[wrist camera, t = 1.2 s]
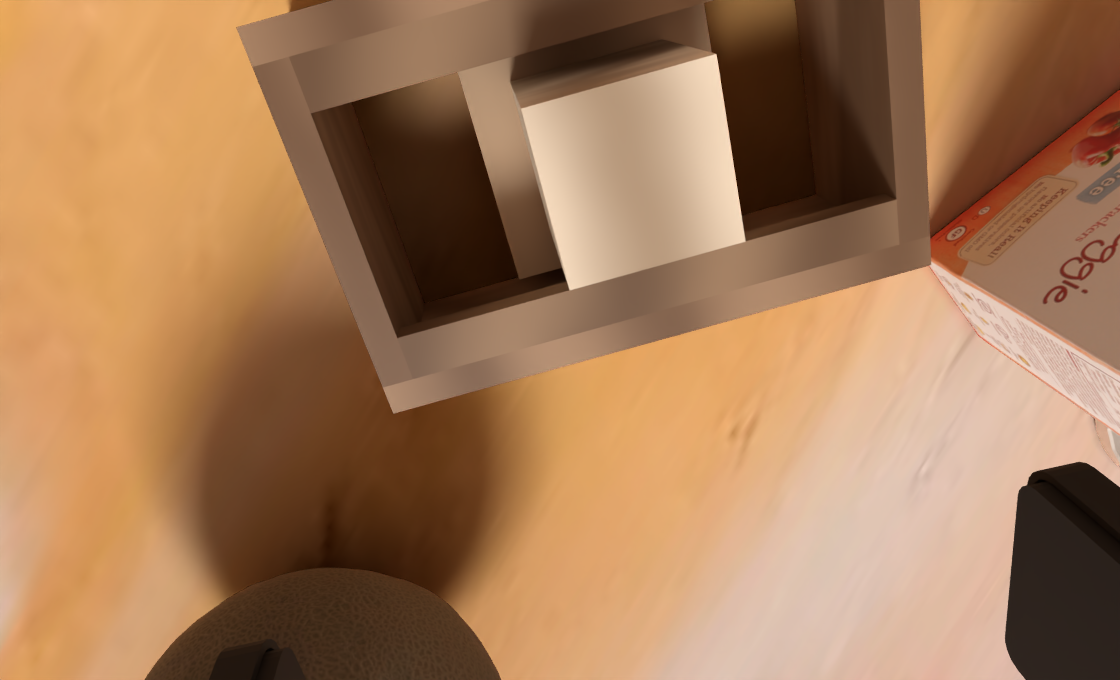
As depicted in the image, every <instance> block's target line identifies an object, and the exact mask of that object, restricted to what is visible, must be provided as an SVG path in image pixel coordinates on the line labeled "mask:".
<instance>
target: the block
mask: <svg viewBox="0 0 1120 680" xmlns="http://www.w3.org/2000/svg"><path fill="white" fill-rule="evenodd" d="M510 84H511V88H512V92H513V95H514V99H515V103H516V106H517V110H518V114H519V117H520V121H521V125H522V129H523V132H524V136H525V140H526V143H527V147H528V151H529V155H530V158H531V162H532V166H533V169H534V173H535V177H536V180H537V184H538V188H539V192H540V195H541V199H542V203H543V206H544V210H545V214H546V218H547V221H548V225H549V229H550V232H551V235H552V238H553V241H554V244H555V247H556V250H557V253H558V256H559V259H560V262H561V265H562V268H563V272H564V275H565V278H566V281H567V284H568V287H569V290H573V289H577V288H580V287H584V286H588V285H591V284H595V283H598V282H602V281H606V280H609V279H613V278H616V277H620V276H624V275H627V274H631V273H634V272H638V271H642V270H645V269H649V268H652V267H656V266H660V265H663V264H667V263H670V262H674V261H678V260H681V259H685V258H688V257H692V256H696V255H699V254H703V253H706V252H710V251H714V250H717V249H721V248H724V247H728V246H732V245H735V244H739V243H742V242H746V241H745V235H744V228H743V222H742V215H741V209H740V202H739V196H738V189H737V183H736V177H735V170H734V164H733V157H732V151H731V144H730V138H729V131H728V125H727V118H726V112H725V106H724V99H723V93H722V86H721V80H720V73H719V67H718V60H717V54H715V53H711V52H708V51H704V50H700V49H697V48H693V47H689V46H686V45H682V44H678V43H674V42H671V41H667V40H663V39H660V40H657V41H653V42H650V43H646V44H643V45H639V46H636V47H632V48H628V49H625V50H621V51H618V52H614V53H611V54H607V55H603V56H600V57H596V58H593V59H589V60H586V61H582V62H579V63H575V64H571V65H568V66H564V67H561V68H557V69H554V70H550V71H546V72H543V73H539V74H536V75H532V76H529V77H525V78H522V79H518V80H514V81H511V82H510Z"/></svg>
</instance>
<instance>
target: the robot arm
mask: <svg viewBox="0 0 1120 680" xmlns="http://www.w3.org/2000/svg"><path fill="white" fill-rule="evenodd" d="M1095 423H1096V431H1097V434H1098V437H1099V439H1100V442H1101V444H1102V447H1103V449H1104V450H1105V452H1106V453H1107V454H1108V455H1109V457H1110V458H1111V459H1112V461H1113V462H1114V463H1115V464H1116V465H1118V466H1119V467H1120V436H1119V435H1118V434H1116V433H1115V432H1113V431H1112V430H1111V429H1109V428H1108V427H1106V426H1105V425H1103V424H1102V423H1101V422H1099V421H1098V420H1096V419H1095ZM1005 643H1006V647H1007V650H1008V653H1009V656H1010V658H1011V660H1012V662H1013V664H1014V665H1015V666H1016V668H1017V669H1018V671H1019V672H1020V673H1021V674H1022V676H1023V677H1024V678H1025V679H1026V680H1120V487H1119V486H1117V485H1116V484H1115V483H1113V482H1112V481H1111V480H1110V479H1108V478H1107V477H1106V476H1104V475H1103V474H1102V473H1100V472H1099V471H1098V470H1097V469H1095V468H1094V467H1092V466H1090V465H1089V464H1087V463H1082V462H1076V463H1072V464H1067V465H1063V466H1058V467H1054V468H1049V469H1044V470H1040V471H1036V472H1033V473H1032V474H1031V476H1030V477H1029V480H1028V484H1027V486H1023V487H1022V488H1021V489H1020V490H1019V493H1018V500H1017V511H1016V522H1015V533H1014V544H1013V555H1012V566H1011V577H1010V588H1009V599H1008V610H1007V621H1006V632H1005ZM209 680H306V678H305V676H304V674H303V672H302V669H301V667H300V665H299V663H298V661H297V658H296V656H295V654H294V653H293V651H292V649H290V648H289V647H287V648H282V649H280V648H279V646H278V645H277V643H276V642H275V641H274V640H272V639H266V640H261V641H257V642H252V643H248V644H243V645H238V646H234V647H229V648H225V649H224V650H222V651H221V652H220V654H219V656H218V658H217V659H216V662H215V665H214V667H213V670H212V673H211V675H210V678H209Z"/></svg>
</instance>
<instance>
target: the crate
mask: <svg viewBox="0 0 1120 680" xmlns="http://www.w3.org/2000/svg"><path fill="white" fill-rule="evenodd" d="M709 1H713V0H332V1H328V2H325V3H321V4H318V5H314V6H310V7H307V8H303V9H300V10H296V11H293V12H289V13H286V14H282V15H279V16H275V17H271V18H268V19H264V20H261V21H257V22H254V23H250V24H247V25H243V26H240V27H236V28H237V30H238V33H239V35H240V38H241V40H242V43H243V45H244V48H245V50H246V53H247V55H248V57H249V60H250V62H251V65H252V67H253V70H254V72H255V75H256V77H257V80H258V82H259V85H260V87H261V89H262V92H263V94H264V97H265V99H266V102H267V104H268V107H269V109H270V112H271V114H272V116H273V119H274V121H275V124H276V126H277V129H278V131H279V134H280V136H281V139H282V141H283V144H284V146H285V148H286V151H287V153H288V156H289V158H290V161H291V163H292V166H293V168H294V171H295V173H296V175H297V178H298V180H299V183H300V185H301V188H302V190H303V193H304V195H305V198H306V200H307V203H308V205H309V207H310V210H311V212H312V215H313V217H314V220H315V222H316V225H317V227H318V230H319V232H320V234H321V237H322V239H323V242H324V244H325V247H326V249H327V252H328V254H329V257H330V259H331V262H332V264H333V266H334V269H335V271H336V274H337V276H338V279H339V281H340V284H341V286H342V289H343V291H344V293H345V296H346V298H347V301H348V303H349V306H350V308H351V311H352V313H353V316H354V318H355V321H356V323H357V325H358V328H359V330H360V333H361V335H362V338H363V340H364V343H365V345H366V348H367V350H368V352H369V355H370V357H371V360H372V362H373V365H374V367H375V370H376V372H377V375H378V377H379V380H380V382H381V384H382V387H383V389H384V392H385V394H386V397H387V399H388V402H389V404H390V407H391V409H392V411H393V414H394V413H398V412H401V411H405V410H408V409H412V408H416V407H419V406H423V405H427V404H430V403H434V402H437V401H441V400H445V399H448V398H452V397H455V396H459V395H463V394H466V393H470V392H474V391H477V390H481V389H484V388H488V387H492V386H495V385H499V384H502V383H506V382H510V381H513V380H517V379H521V378H524V377H528V376H531V375H535V374H539V373H542V372H546V371H549V370H553V369H557V368H560V367H564V366H568V365H571V364H575V363H578V362H582V361H586V360H589V359H593V358H596V357H600V356H604V355H607V354H611V353H615V352H618V351H622V350H625V349H629V348H633V347H636V346H640V345H644V344H647V343H651V342H654V341H658V340H662V339H665V338H669V337H672V336H676V335H680V334H683V333H687V332H691V331H694V330H698V329H701V328H705V327H709V326H712V325H716V324H719V323H723V322H727V321H730V320H734V319H738V318H741V317H745V316H748V315H752V314H756V313H759V312H763V311H766V310H770V309H774V308H777V307H781V306H785V305H788V304H792V303H795V302H799V301H803V300H806V299H810V298H813V297H817V296H821V295H824V294H828V293H832V292H835V291H839V290H842V289H846V288H850V287H853V286H857V285H861V284H864V283H868V282H871V281H875V280H879V279H882V278H886V277H889V276H893V275H897V274H900V273H904V272H908V271H911V270H915V269H918V268H922V267H926V266H929V265H931V246H930V223H929V201H928V178H927V156H926V133H925V111H924V89H923V66H922V44H921V21H920V0H795V5H796V14H797V23H798V33H799V42H800V51H801V60H802V69H803V78H804V87H805V96H806V106H807V115H808V124H809V133H810V142H811V151H812V160H813V169H814V179H815V188H816V195H813V196H809V197H806V198H802V199H799V200H795V201H791V202H788V203H784V204H781V205H777V206H773V207H770V208H766V209H763V210H759V211H755V212H752V213H748V214H745V215H742V222H743V228H744V235H745V241H746V242H742V243H739V244H735V245H732V246H728V247H724V248H721V249H717V250H714V251H710V252H706V253H703V254H699V255H696V256H692V257H688V258H685V259H681V260H678V261H674V262H670V263H667V264H663V265H660V266H656V267H652V268H649V269H645V270H642V271H638V272H634V273H631V274H627V275H624V276H620V277H616V278H613V279H609V280H606V281H602V282H598V283H595V284H591V285H588V286H584V287H580V288H577V289H573V290H569V287H568V284H567V281H566V278H565V275H564V272H563V268H562V265H561V262H560V259H559V256H558V253H557V250H556V247H555V244H554V241H553V238H552V235H551V232H550V229H549V225H548V221H547V218H546V214H545V210H544V206H543V203H542V199H541V195H540V192H539V188H538V184H537V180H536V177H535V173H534V169H533V166H532V162H531V158H530V155H529V151H528V147H527V143H526V140H525V136H524V132H523V129H522V125H521V121H520V117H519V114H518V110H517V106H516V103H515V99H514V95H513V92H512V88H511V84H510V82H511V81H514V80H518V79H522V78H525V77H529V76H532V75H536V74H539V73H543V72H546V71H550V70H554V69H557V68H561V67H564V66H568V65H571V64H575V63H579V62H582V61H586V60H589V59H593V58H596V57H600V56H603V55H607V54H611V53H614V52H618V51H621V50H625V49H628V48H632V47H636V46H639V45H643V44H646V43H650V42H653V41H657V40H660V39H663V40H667V41H671V42H674V43H678V44H682V45H686V46H689V47H693V48H697V49H700V50H704V51H708V52H711V53H712V50H711V44H710V38H709V31H708V25H707V19H706V12H705V6H704V3H706V2H709ZM457 72H458V75H459V78H460V81H461V85H462V88H463V92H464V95H465V98H466V102H467V105H468V108H469V112H470V115H471V119H472V122H473V125H474V129H475V132H476V135H477V139H478V142H479V146H480V149H481V152H482V156H483V159H484V162H485V166H486V169H487V172H488V176H489V179H490V183H491V186H492V189H493V193H494V196H495V199H496V203H497V206H498V210H499V213H500V216H501V220H502V223H503V226H504V230H505V233H506V237H507V240H508V243H509V247H510V250H511V253H512V257H513V260H514V264H515V267H516V270H517V274H518V278H514V279H511V280H507V281H504V282H500V283H496V284H493V285H489V286H486V287H482V288H478V289H475V290H471V291H468V292H464V293H460V294H457V295H453V296H450V297H446V298H442V299H439V300H435V301H432V302H428V303H424V302H423V299H422V296H421V294H420V291H419V288H418V285H417V282H416V280H415V277H414V274H413V271H412V269H411V266H410V263H409V260H408V257H407V255H406V252H405V249H404V246H403V244H402V241H401V238H400V235H399V232H398V230H397V227H396V224H395V221H394V219H393V216H392V213H391V210H390V207H389V205H388V202H387V199H386V196H385V194H384V191H383V188H382V185H381V182H380V180H379V177H378V174H377V171H376V169H375V166H374V163H373V160H372V157H371V155H370V152H369V149H368V146H367V144H366V141H365V138H364V135H363V133H362V130H361V127H360V124H359V121H358V119H357V116H356V113H355V110H354V108H353V105H352V102H353V101H357V100H361V99H364V98H368V97H371V96H375V95H378V94H382V93H385V92H389V91H393V90H396V89H400V88H403V87H407V86H410V85H414V84H417V83H421V82H425V81H428V80H432V79H435V78H439V77H442V76H446V75H449V74H453V73H457Z"/></svg>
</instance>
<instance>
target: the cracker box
mask: <svg viewBox="0 0 1120 680" xmlns="http://www.w3.org/2000/svg"><path fill="white" fill-rule="evenodd" d="M930 246H931V265H929V267H930V268H931V270H932V271H933V273H934V274H935V275H936V277H937V278H938V280H939V281H940V282H941V284H942V285H943V287H944V288H945V289H946V291H947V292H948V294H949V295H950V296H951V298H952V299H953V300H954V302H955V303H956V305H957V306H958V307H959V309H960V310H961V311H962V313H963V314H964V316H965V317H966V319H967V320H968V321H969V323H970V324H971V325H972V327H973V328H974V330H975V331H976V333H977V334H978V336H979V337H981V338H982V339H983V340H985V341H986V342H987V343H988V344H990V345H991V346H993V347H994V348H996V349H997V350H998V351H1000V352H1001V353H1002V354H1004V355H1005V356H1007V357H1008V358H1010V359H1011V360H1012V361H1014V362H1015V363H1017V364H1018V365H1020V366H1021V367H1022V368H1024V369H1025V370H1027V371H1028V372H1030V373H1031V374H1032V375H1034V376H1035V377H1037V378H1038V379H1039V380H1041V381H1042V382H1043V383H1045V384H1046V385H1048V386H1049V387H1051V388H1052V389H1053V390H1055V391H1056V392H1058V393H1059V394H1060V395H1062V396H1063V397H1065V398H1066V399H1068V400H1069V401H1070V402H1072V403H1073V404H1075V405H1076V406H1078V407H1079V408H1080V409H1082V410H1083V411H1085V412H1086V413H1088V414H1089V415H1091V416H1092V417H1093V418H1095V419H1096V420H1098V421H1099V422H1101V423H1102V424H1103V425H1105V426H1106V427H1108V428H1109V429H1111V430H1112V431H1113V432H1115V433H1116V434H1118V435H1119V436H1120V90H1118V91H1117V92H1116V93H1114V94H1113V95H1112V96H1111V97H1109V98H1108V99H1107V100H1106V101H1104V102H1103V103H1102V104H1101V105H1099V106H1098V107H1097V108H1096V109H1094V110H1093V111H1092V112H1090V113H1089V114H1088V115H1087V116H1085V117H1084V118H1083V119H1082V120H1080V121H1079V122H1078V123H1077V124H1075V125H1074V126H1073V127H1071V128H1070V129H1069V130H1068V131H1066V132H1065V133H1064V134H1063V135H1061V136H1060V137H1059V138H1058V139H1056V140H1055V141H1054V142H1053V143H1051V144H1050V145H1048V146H1047V147H1046V148H1045V149H1043V150H1042V151H1041V152H1040V153H1038V154H1037V155H1036V156H1035V157H1033V158H1032V159H1031V160H1030V161H1028V162H1027V163H1026V164H1025V165H1023V166H1022V167H1021V168H1019V169H1018V170H1017V171H1016V172H1014V173H1013V174H1012V175H1010V176H1009V177H1008V178H1007V179H1005V180H1004V181H1003V182H1002V183H1000V184H999V185H998V186H997V187H995V188H994V189H993V190H991V191H990V192H989V193H988V194H986V195H985V196H984V197H983V198H981V199H980V200H979V201H977V202H976V203H975V204H974V205H972V206H971V207H970V208H969V209H968V210H966V211H965V212H964V213H962V214H961V215H960V216H958V217H957V218H956V219H955V220H953V221H952V222H951V223H949V224H948V225H947V226H946V227H945V228H943V229H942V230H941V231H939V232H938V233H937V234H935V235H934V236H933V237H932V238H931V239H930Z"/></svg>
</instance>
